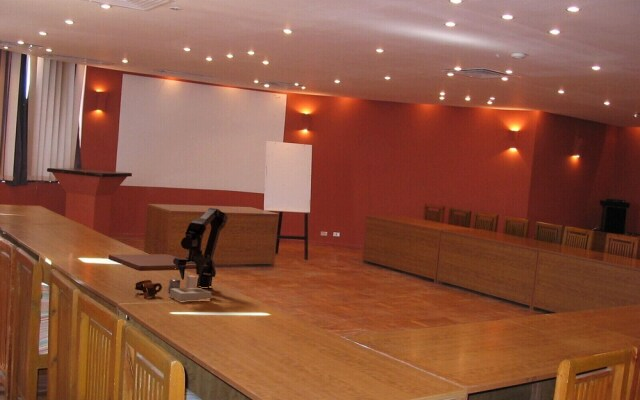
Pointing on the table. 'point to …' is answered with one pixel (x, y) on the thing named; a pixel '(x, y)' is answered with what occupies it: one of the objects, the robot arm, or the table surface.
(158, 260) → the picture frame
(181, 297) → the socket block
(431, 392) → the table surface
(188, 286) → the square peg
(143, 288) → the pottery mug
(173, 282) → the round dowel
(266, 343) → the table surface
